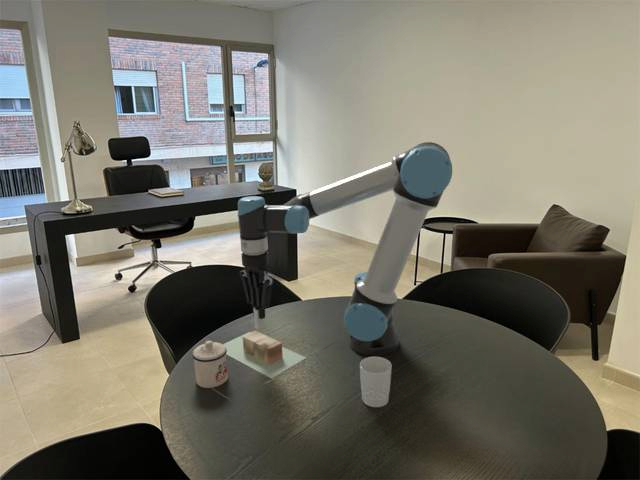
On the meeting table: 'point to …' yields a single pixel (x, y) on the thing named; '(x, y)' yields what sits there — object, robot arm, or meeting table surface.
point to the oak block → (262, 347)
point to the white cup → (375, 381)
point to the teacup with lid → (210, 364)
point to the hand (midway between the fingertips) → (260, 327)
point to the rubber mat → (272, 370)
